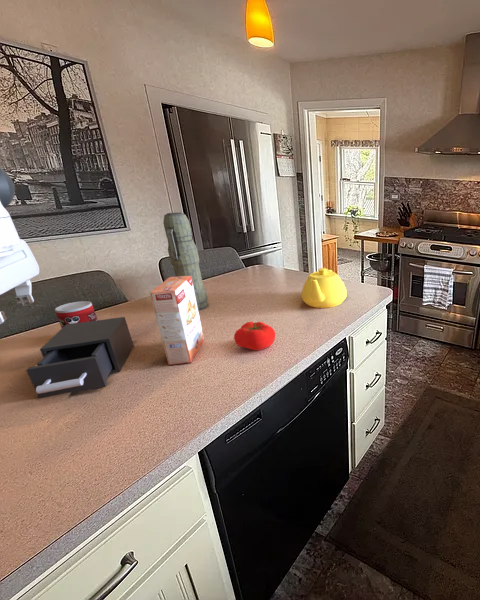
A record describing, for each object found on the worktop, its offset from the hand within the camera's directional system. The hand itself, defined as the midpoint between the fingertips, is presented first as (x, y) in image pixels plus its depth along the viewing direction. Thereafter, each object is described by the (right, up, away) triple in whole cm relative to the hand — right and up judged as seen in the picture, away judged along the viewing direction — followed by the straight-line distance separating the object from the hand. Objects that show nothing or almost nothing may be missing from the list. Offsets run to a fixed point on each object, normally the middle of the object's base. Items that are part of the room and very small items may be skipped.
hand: (13, 313), depth 59 cm
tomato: (+27, -11, +39) cm, 49 cm away
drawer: (-6, -17, +19) cm, 26 cm away
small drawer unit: (-11, -15, +28) cm, 34 cm away
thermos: (-8, 0, +66) cm, 67 cm away
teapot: (+39, +1, +73) cm, 83 cm away
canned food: (-27, -10, +41) cm, 50 cm away
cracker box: (+9, -13, +35) cm, 38 cm away
